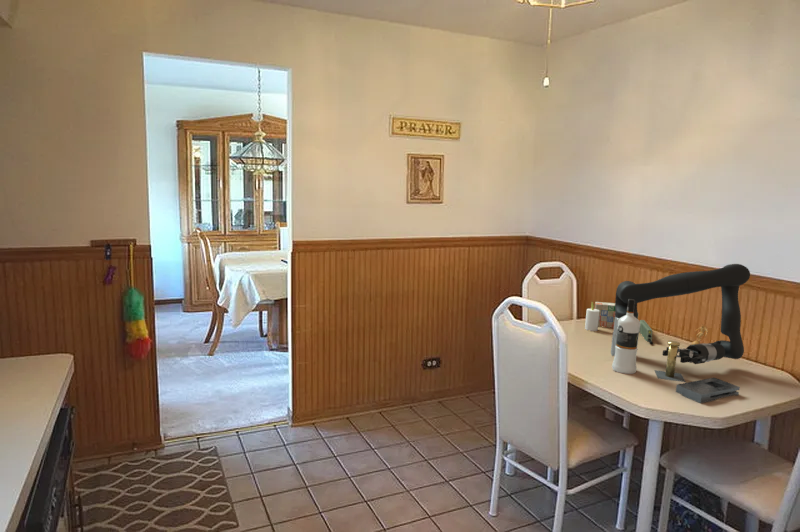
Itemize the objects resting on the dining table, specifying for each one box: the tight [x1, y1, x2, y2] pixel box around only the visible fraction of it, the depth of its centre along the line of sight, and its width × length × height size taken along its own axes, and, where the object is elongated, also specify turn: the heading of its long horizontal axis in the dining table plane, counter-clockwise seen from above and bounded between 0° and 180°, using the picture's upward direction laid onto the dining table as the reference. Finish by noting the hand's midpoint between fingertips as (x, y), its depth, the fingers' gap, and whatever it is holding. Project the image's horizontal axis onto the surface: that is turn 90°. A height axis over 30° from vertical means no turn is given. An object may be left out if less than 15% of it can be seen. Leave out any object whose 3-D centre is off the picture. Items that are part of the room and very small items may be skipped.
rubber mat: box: [654, 369, 687, 383], centre depth 216 cm, size 10×10×1 cm
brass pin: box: [665, 340, 681, 377], centre depth 215 cm, size 4×4×14 cm
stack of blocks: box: [594, 301, 615, 329], centre depth 290 cm, size 21×6×12 cm, turn 74°
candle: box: [584, 301, 599, 332], centre depth 282 cm, size 6×6×15 cm
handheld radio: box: [639, 319, 654, 346], centre depth 270 cm, size 7×3×25 cm
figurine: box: [690, 324, 709, 345], centre depth 254 cm, size 8×6×12 cm
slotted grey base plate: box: [675, 377, 740, 404], centre depth 199 cm, size 21×10×3 cm, turn 115°
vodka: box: [611, 299, 640, 375], centre depth 219 cm, size 9×9×30 cm
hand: (672, 356), depth 215 cm, fingers open, 8 cm apart
